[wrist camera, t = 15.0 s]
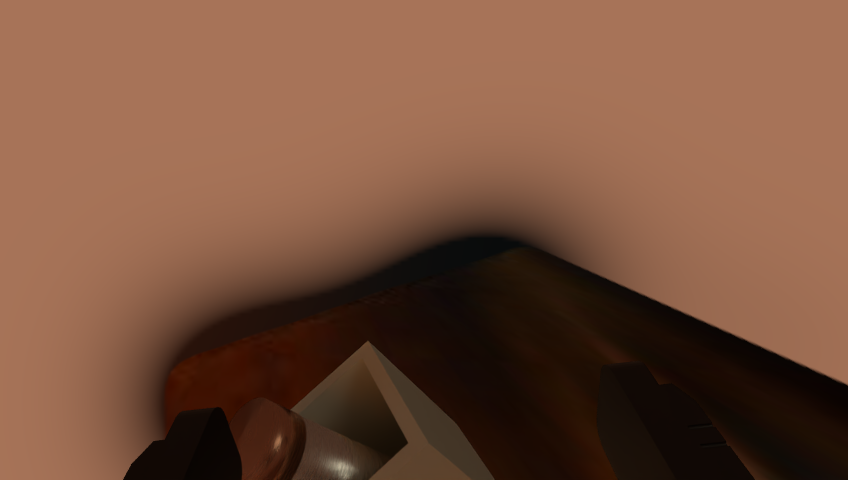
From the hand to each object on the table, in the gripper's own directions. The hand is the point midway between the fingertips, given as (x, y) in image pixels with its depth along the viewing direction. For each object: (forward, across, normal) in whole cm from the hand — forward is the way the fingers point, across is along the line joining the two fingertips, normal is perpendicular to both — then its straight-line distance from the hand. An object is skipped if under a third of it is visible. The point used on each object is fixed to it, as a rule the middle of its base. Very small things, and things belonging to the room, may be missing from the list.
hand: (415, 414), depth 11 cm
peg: (+12, 0, +21) cm, 24 cm away
